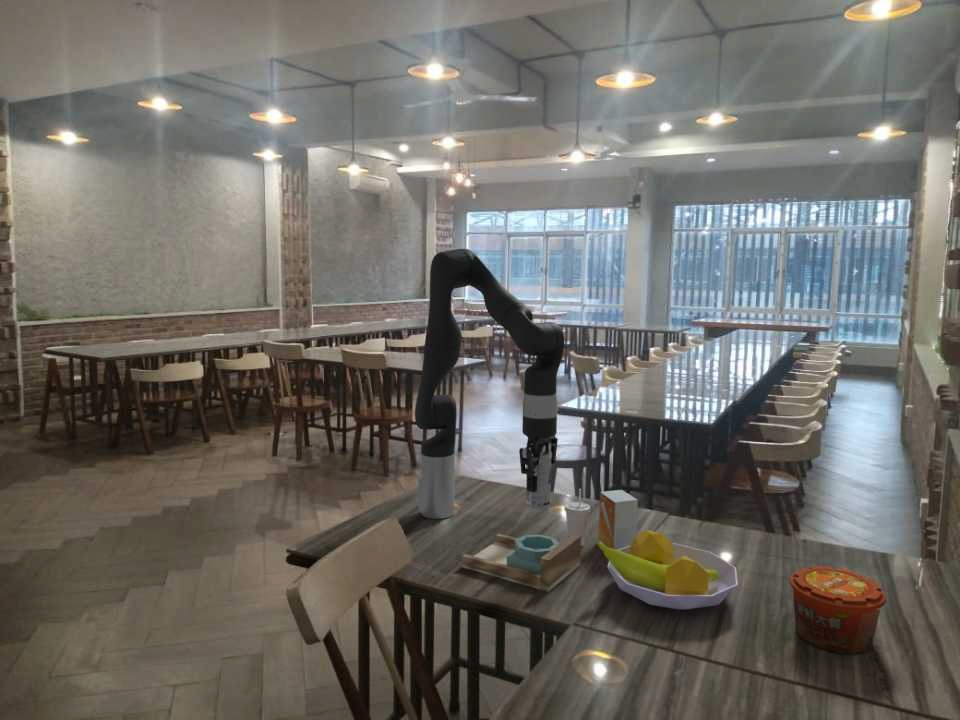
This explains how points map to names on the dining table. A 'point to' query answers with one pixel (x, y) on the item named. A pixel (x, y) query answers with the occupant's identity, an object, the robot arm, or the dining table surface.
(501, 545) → the wooden tray
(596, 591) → the dining table surface
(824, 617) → the food container
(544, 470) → the energy drink
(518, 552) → the tray
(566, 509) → the smoothie
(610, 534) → the small box
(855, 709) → the dining table surface
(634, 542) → the fruit bowl
